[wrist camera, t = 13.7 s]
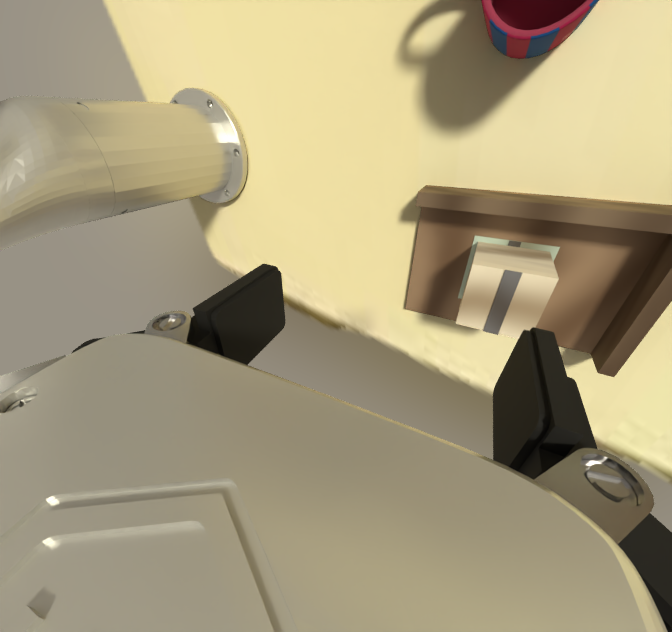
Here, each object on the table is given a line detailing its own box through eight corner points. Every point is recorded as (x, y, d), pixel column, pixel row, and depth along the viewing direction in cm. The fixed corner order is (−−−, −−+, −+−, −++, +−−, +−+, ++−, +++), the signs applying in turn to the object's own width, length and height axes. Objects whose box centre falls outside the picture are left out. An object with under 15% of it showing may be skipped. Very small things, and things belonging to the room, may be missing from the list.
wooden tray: (406, 306, 36) (398, 321, 34) (426, 185, 28) (417, 191, 26) (604, 353, 29) (614, 377, 26) (703, 208, 21) (732, 220, 18)
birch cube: (478, 241, 28) (472, 264, 24) (550, 251, 26) (559, 279, 22) (462, 295, 32) (455, 324, 27) (525, 308, 29) (528, 342, 25)
